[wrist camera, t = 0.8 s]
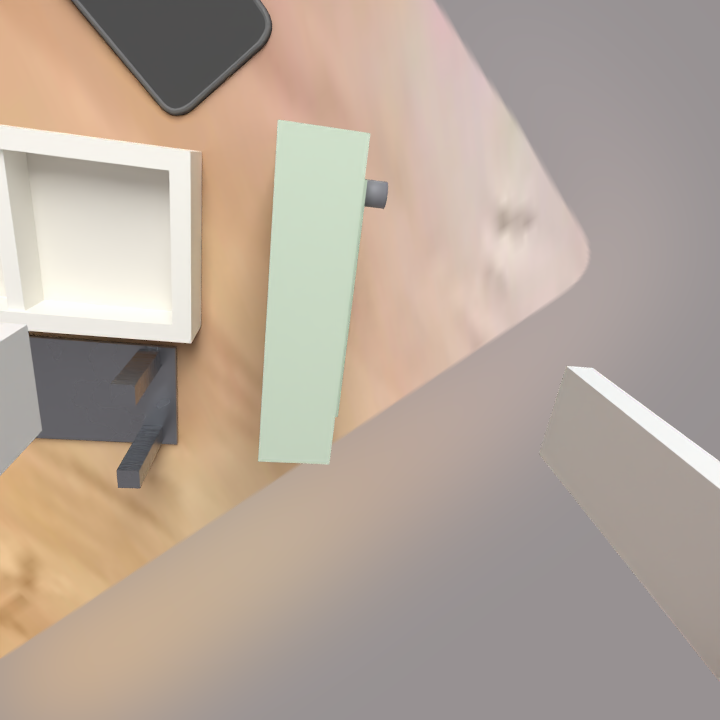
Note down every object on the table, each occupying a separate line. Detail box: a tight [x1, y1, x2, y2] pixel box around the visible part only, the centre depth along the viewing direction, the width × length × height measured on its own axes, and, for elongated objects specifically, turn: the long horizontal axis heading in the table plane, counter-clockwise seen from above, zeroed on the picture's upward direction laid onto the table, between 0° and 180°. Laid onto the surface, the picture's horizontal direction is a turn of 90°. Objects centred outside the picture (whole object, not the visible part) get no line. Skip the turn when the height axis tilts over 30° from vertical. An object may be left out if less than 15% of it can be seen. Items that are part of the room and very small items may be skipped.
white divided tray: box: [0, 124, 202, 343], centre depth 25 cm, size 18×10×3 cm, turn 83°
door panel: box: [258, 120, 388, 464], centre depth 24 cm, size 13×4×12 cm, turn 173°
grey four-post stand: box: [29, 335, 178, 488], centre depth 28 cm, size 15×7×5 cm, turn 83°
